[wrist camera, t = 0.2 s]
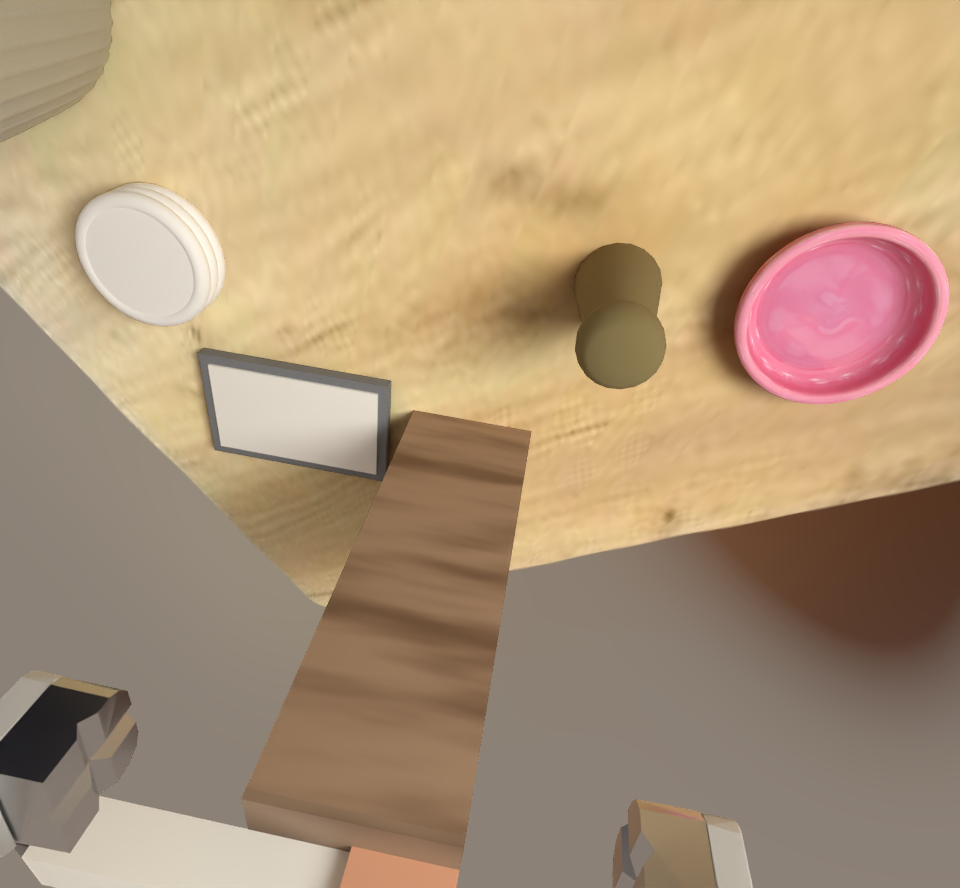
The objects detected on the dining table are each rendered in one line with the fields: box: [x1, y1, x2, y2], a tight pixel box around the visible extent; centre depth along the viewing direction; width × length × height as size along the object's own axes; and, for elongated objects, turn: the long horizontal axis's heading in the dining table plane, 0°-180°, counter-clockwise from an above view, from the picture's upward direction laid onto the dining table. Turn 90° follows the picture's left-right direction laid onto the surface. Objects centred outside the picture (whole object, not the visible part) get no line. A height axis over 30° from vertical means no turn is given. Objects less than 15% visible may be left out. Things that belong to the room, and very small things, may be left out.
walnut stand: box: [241, 411, 531, 870], centre depth 44 cm, size 9×10×32 cm
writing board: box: [198, 348, 391, 481], centre depth 56 cm, size 10×16×1 cm, turn 84°
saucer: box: [734, 222, 949, 404], centre depth 43 cm, size 12×12×3 cm
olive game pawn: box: [574, 243, 666, 389], centre depth 41 cm, size 6×6×11 cm
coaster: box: [75, 183, 225, 326], centre depth 48 cm, size 10×10×4 cm
